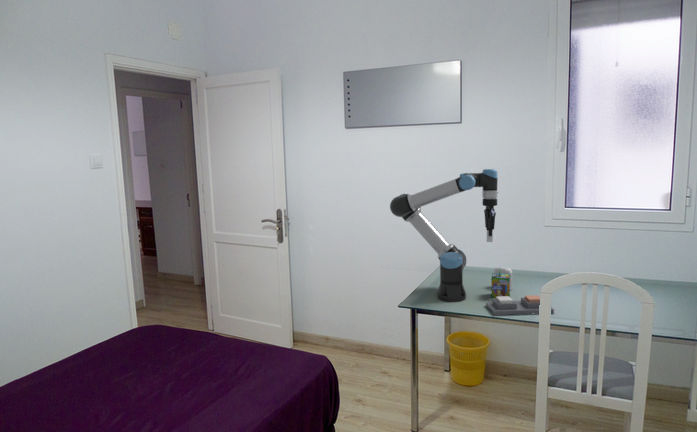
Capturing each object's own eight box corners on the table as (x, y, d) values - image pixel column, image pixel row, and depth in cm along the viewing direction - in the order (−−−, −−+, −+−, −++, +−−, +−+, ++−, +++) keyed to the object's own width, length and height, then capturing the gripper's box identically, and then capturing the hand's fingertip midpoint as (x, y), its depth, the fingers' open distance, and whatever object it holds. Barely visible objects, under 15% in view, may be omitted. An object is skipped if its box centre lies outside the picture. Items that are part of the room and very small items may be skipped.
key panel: (494, 315, 219) (494, 306, 218) (485, 305, 233) (485, 297, 232) (553, 313, 219) (554, 304, 218) (541, 303, 233) (541, 295, 232)
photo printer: (493, 287, 263) (493, 266, 261) (497, 285, 266) (497, 264, 264) (509, 291, 255) (509, 269, 253) (513, 289, 258) (514, 267, 256)
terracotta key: (529, 304, 222) (529, 299, 222) (524, 300, 228) (524, 295, 228) (542, 304, 222) (542, 299, 222) (537, 300, 228) (537, 295, 228)
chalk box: (509, 299, 241) (510, 272, 239) (491, 298, 244) (491, 271, 242) (510, 294, 249) (510, 267, 247) (492, 293, 253) (492, 266, 251)
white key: (500, 305, 222) (500, 300, 222) (496, 301, 228) (496, 296, 228) (512, 305, 222) (512, 300, 222) (508, 301, 228) (508, 296, 228)
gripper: (500, 199, 240) (500, 243, 243) (493, 196, 253) (492, 239, 256) (486, 199, 240) (486, 244, 243) (479, 197, 253) (479, 239, 256)
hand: (489, 241), depth 250 cm, fingers closed
